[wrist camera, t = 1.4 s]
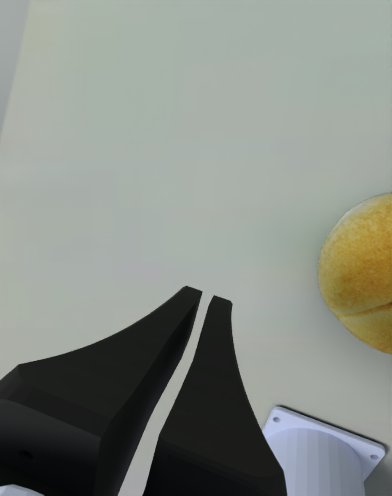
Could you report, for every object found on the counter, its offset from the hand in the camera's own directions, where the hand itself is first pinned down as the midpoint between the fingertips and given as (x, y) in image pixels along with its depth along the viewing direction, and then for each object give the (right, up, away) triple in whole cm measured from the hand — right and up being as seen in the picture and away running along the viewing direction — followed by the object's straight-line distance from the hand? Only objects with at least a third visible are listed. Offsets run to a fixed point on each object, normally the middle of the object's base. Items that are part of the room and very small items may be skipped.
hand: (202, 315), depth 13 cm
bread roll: (+11, +2, +7) cm, 13 cm away
